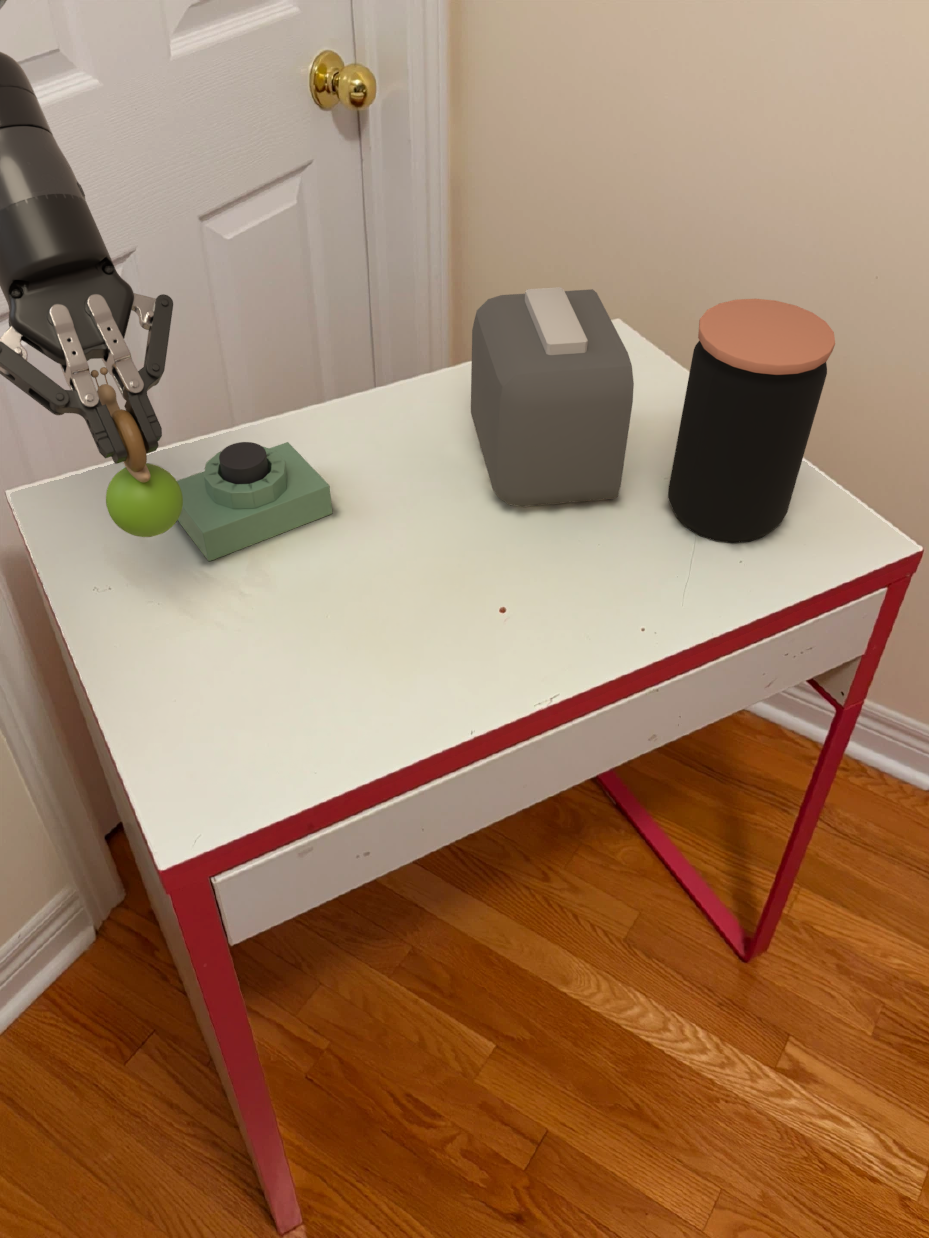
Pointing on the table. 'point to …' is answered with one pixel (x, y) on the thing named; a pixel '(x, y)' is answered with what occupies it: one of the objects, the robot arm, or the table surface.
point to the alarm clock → (550, 396)
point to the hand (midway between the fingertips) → (136, 454)
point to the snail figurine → (138, 479)
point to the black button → (243, 463)
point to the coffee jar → (747, 417)
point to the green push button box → (251, 503)
